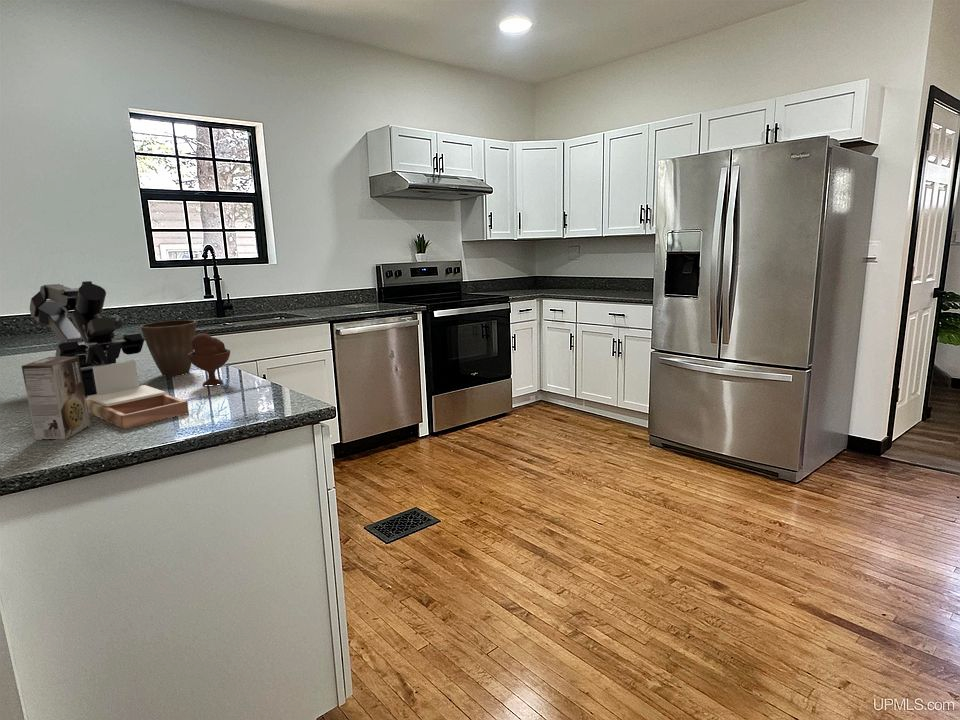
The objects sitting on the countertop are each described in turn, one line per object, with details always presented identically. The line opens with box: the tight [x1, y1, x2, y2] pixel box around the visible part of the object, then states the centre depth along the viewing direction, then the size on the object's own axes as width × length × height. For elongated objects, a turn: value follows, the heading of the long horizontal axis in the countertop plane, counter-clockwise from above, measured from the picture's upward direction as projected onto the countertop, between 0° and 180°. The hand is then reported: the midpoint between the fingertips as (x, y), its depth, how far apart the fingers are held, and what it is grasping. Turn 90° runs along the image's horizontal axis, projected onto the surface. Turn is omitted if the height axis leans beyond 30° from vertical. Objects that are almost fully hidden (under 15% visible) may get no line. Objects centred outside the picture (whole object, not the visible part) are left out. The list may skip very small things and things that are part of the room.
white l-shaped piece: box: [86, 359, 167, 407], centre depth 138 cm, size 12×13×8 cm
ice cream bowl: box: [187, 333, 231, 385], centre depth 161 cm, size 11×11×15 cm
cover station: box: [86, 393, 190, 430], centre depth 136 cm, size 24×14×3 cm, turn 52°
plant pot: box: [140, 319, 197, 377], centre depth 175 cm, size 15×15×16 cm
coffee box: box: [20, 356, 92, 441], centre depth 121 cm, size 9×6×16 cm
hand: (114, 373), depth 141 cm, fingers closed, pressing on white l-shaped piece
